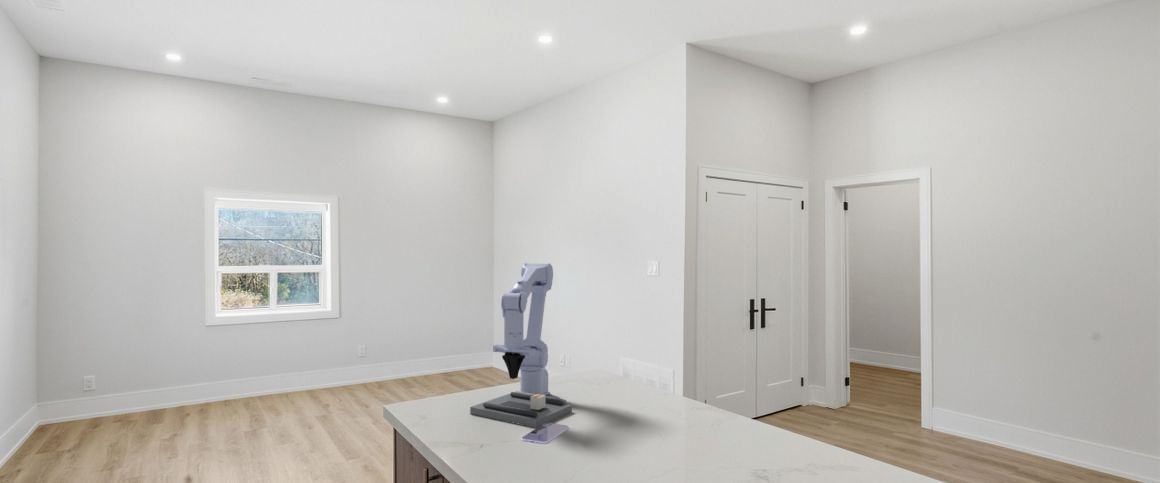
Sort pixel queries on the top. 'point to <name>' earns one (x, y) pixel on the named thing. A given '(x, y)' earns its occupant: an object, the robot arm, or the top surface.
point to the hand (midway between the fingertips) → (513, 378)
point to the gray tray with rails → (524, 396)
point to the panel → (543, 416)
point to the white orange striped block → (537, 401)
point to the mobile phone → (545, 433)
